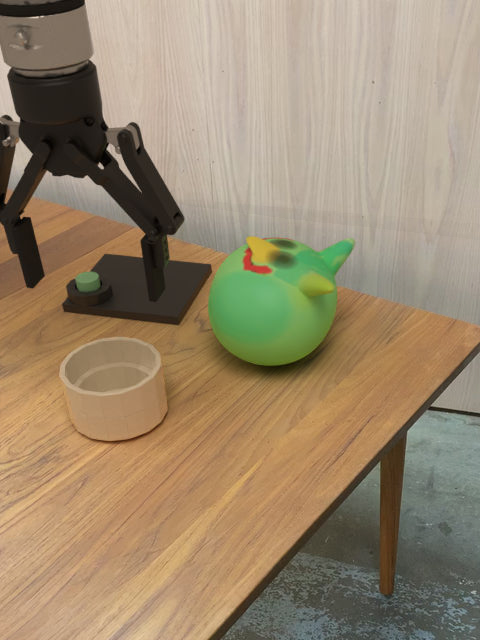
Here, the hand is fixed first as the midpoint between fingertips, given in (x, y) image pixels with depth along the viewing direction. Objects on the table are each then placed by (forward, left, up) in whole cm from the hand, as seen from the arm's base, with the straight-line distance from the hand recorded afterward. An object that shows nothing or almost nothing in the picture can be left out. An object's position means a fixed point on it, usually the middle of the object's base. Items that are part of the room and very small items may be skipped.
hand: (95, 288), depth 80 cm
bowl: (0, 0, -16) cm, 16 cm away
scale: (-8, +27, -16) cm, 33 cm away
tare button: (-14, +23, -14) cm, 30 cm away
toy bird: (+15, +17, -17) cm, 28 cm away
